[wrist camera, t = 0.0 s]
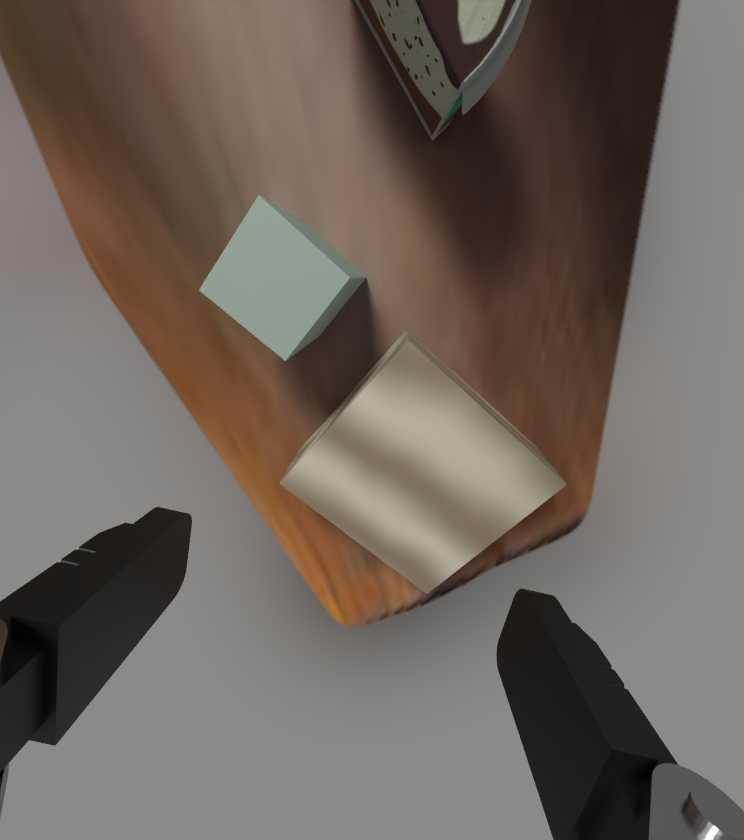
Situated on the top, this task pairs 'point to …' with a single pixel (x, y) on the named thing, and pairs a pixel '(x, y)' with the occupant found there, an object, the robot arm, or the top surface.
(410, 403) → the birch block
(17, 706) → the robot arm
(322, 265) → the sage block
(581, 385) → the top surface
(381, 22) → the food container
